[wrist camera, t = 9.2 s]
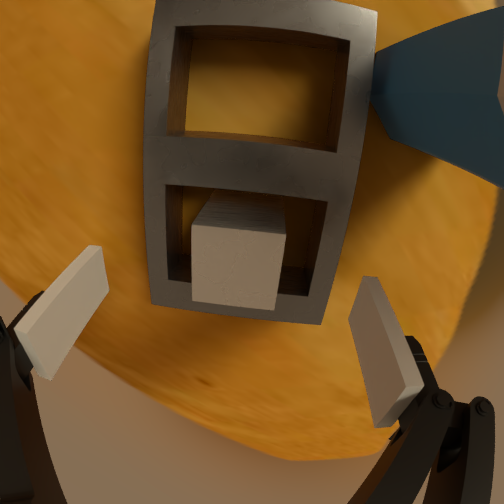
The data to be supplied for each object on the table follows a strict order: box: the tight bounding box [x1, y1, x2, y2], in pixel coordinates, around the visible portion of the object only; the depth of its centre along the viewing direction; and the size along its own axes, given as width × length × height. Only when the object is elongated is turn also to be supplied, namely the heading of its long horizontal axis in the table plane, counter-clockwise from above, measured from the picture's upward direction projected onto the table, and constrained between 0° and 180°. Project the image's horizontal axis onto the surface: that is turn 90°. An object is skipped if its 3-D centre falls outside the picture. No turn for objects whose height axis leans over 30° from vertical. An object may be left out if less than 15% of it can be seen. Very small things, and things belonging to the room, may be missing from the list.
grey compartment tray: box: [143, 0, 377, 325], centre depth 19 cm, size 22×13×4 cm, turn 174°
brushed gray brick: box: [191, 189, 286, 310], centre depth 20 cm, size 5×5×7 cm
